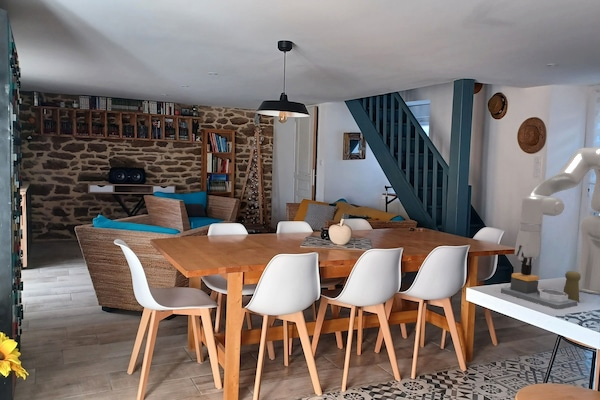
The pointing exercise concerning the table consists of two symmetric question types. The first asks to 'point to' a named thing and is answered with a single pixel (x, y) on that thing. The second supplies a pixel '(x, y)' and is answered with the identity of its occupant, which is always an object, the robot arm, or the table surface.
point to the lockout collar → (552, 295)
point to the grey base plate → (532, 293)
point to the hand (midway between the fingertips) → (525, 274)
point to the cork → (572, 285)
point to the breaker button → (525, 277)
